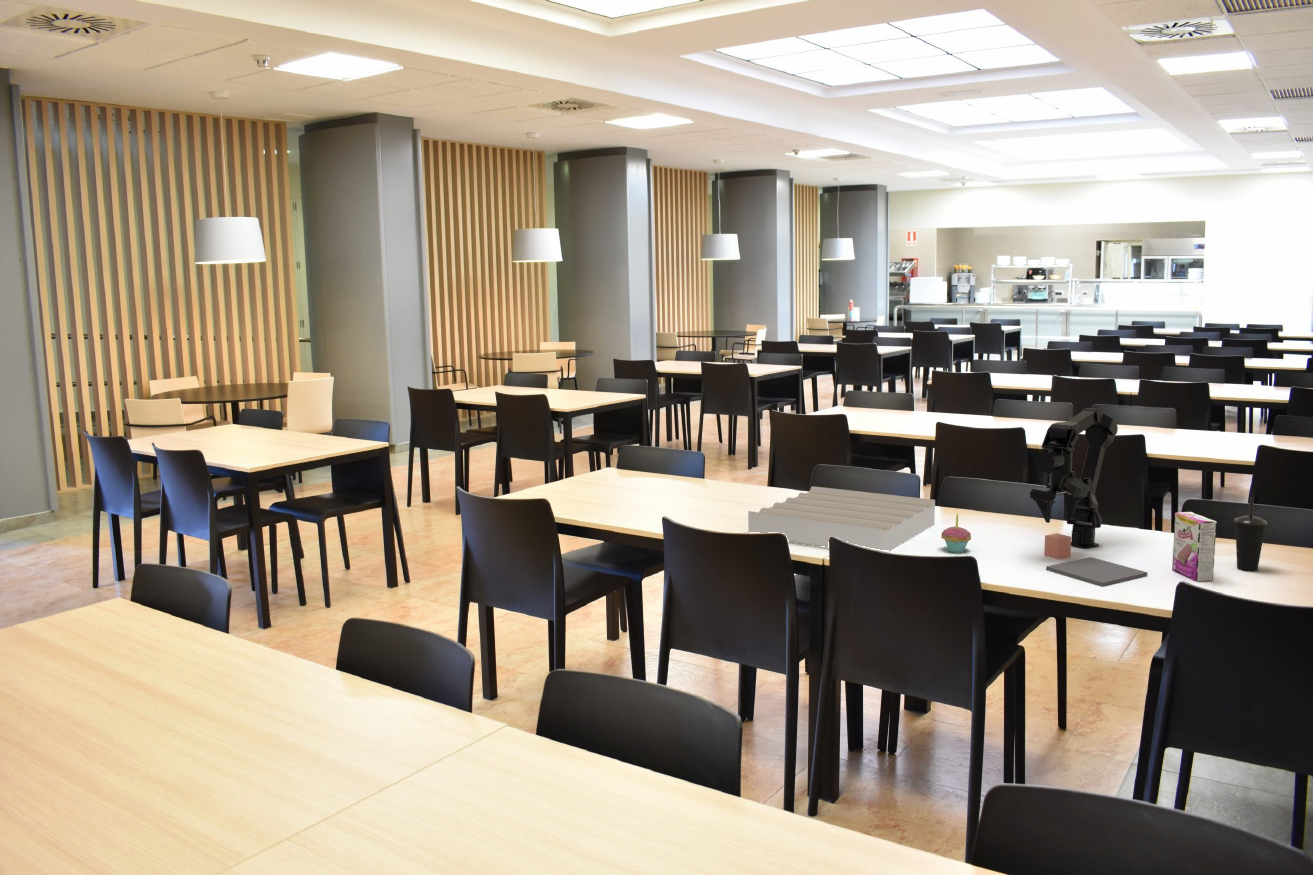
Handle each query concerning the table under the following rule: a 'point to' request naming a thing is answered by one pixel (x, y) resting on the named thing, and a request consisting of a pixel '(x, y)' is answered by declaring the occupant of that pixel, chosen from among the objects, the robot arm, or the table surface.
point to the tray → (846, 518)
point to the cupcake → (956, 537)
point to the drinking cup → (1249, 540)
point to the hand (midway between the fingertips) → (1058, 520)
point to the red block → (1057, 546)
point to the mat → (1096, 571)
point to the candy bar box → (1194, 546)
